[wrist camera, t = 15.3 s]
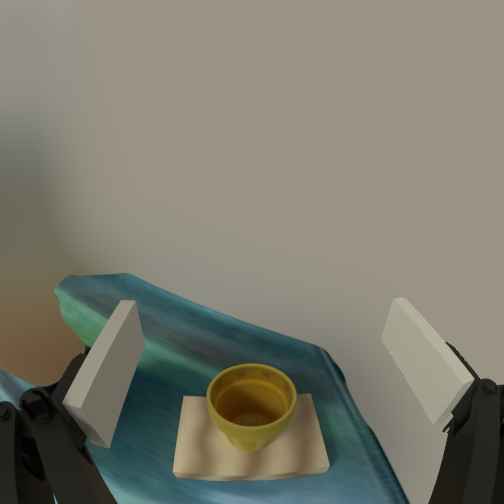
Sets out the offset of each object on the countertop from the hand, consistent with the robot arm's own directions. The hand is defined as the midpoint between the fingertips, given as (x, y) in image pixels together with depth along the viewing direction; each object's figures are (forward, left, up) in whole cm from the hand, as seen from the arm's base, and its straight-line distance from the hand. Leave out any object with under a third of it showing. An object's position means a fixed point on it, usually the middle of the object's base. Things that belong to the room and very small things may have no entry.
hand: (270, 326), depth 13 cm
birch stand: (0, +10, -29) cm, 31 cm away
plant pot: (0, +10, -27) cm, 29 cm away
